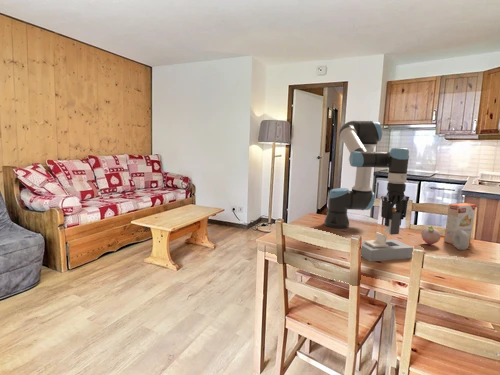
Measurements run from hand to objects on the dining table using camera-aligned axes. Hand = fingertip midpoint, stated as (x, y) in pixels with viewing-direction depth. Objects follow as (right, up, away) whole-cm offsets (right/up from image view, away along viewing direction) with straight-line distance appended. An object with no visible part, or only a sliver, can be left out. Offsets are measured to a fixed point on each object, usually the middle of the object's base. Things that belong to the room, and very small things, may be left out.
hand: (392, 232), depth 138 cm
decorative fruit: (+28, -9, +17) cm, 34 cm away
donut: (+39, -10, +11) cm, 42 cm away
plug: (0, 0, 0) cm, 0 cm away
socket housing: (-4, -10, +1) cm, 11 cm away
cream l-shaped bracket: (-8, -5, -1) cm, 10 cm away
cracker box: (+46, -9, +23) cm, 52 cm away
